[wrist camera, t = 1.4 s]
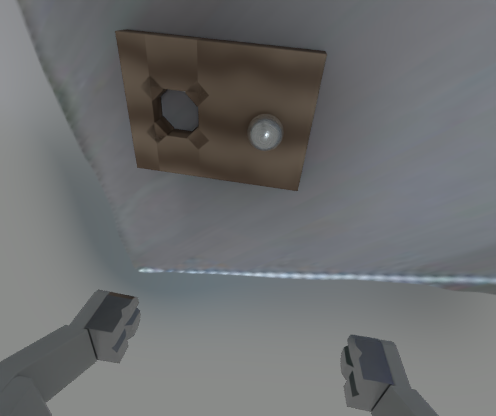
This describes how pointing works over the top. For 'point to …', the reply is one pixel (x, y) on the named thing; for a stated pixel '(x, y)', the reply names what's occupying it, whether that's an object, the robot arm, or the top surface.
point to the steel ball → (265, 132)
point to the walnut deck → (220, 105)
